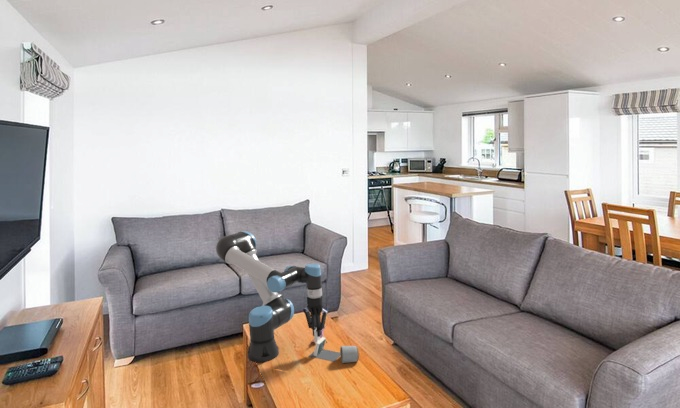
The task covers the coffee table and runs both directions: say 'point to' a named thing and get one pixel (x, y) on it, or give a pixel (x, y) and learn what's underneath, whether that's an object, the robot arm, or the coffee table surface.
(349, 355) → the ceramic mug
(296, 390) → the coffee table surface
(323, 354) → the mat
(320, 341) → the tile
